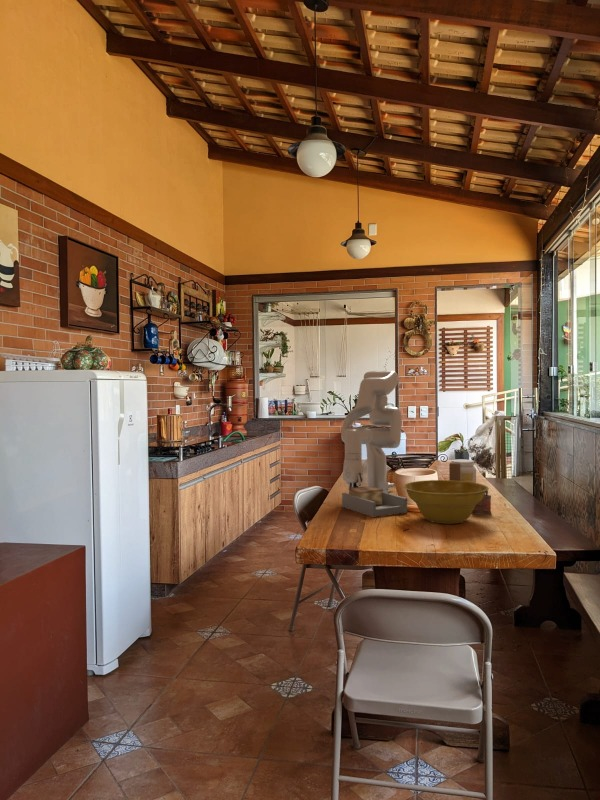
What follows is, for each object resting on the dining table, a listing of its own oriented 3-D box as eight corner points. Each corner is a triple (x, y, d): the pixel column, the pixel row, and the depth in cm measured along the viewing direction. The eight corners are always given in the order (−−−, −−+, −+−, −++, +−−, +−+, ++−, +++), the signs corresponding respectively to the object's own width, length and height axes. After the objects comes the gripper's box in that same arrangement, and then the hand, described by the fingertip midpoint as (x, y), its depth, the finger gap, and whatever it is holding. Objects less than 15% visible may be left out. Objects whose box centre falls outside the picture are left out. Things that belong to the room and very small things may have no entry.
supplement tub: (456, 492, 279) (456, 458, 278) (480, 495, 271) (480, 460, 271) (444, 496, 270) (444, 460, 269) (469, 499, 262) (469, 463, 261)
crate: (370, 500, 254) (370, 486, 254) (382, 504, 246) (382, 489, 245) (348, 503, 248) (348, 488, 248) (360, 507, 240) (360, 491, 240)
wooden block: (471, 503, 253) (471, 463, 252) (470, 505, 249) (470, 464, 248) (450, 502, 256) (450, 462, 255) (449, 504, 252) (449, 463, 251)
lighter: (491, 513, 233) (491, 488, 233) (490, 514, 230) (490, 490, 230) (471, 511, 237) (471, 487, 236) (470, 513, 234) (470, 488, 233)
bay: (374, 502, 256) (374, 489, 256) (407, 512, 235) (407, 498, 235) (342, 506, 248) (342, 493, 248) (373, 517, 227) (373, 502, 227)
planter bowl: (390, 514, 233) (389, 481, 233) (460, 509, 242) (459, 477, 241) (427, 533, 202) (427, 495, 202) (506, 526, 211) (506, 490, 210)
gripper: (337, 455, 260) (337, 495, 260) (355, 459, 247) (355, 501, 247) (351, 454, 263) (351, 494, 264) (369, 457, 250) (369, 499, 250)
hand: (353, 497), depth 255 cm, fingers closed
